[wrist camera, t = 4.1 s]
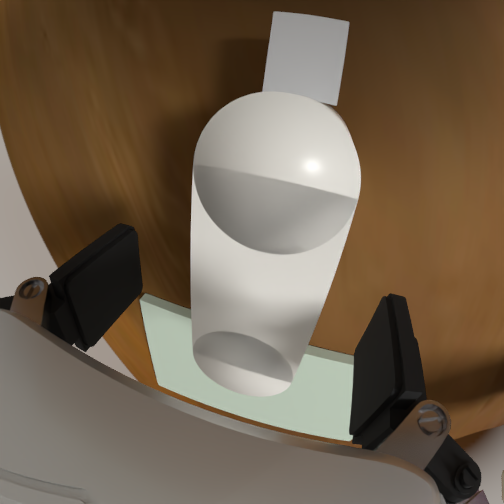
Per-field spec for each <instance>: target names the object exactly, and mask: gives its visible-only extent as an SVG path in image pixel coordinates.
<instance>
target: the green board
mask: <svg viewBox="0 0 504 504" xmlns="http://www.w3.org/2000/svg"><path fill="white" fill-rule="evenodd" d="M140 304H141V310H142V315H143V320H144V325H145V330H146V335H147V340H148V345H149V349H150V353H151V358H152V362H153V366H154V370H155V374H156V378H157V382H158V385H160V386H162V387H165V388H167V389H169V390H172V391H174V392H176V393H179V394H181V395H184V396H186V397H188V398H191V399H194V400H196V401H199V402H201V403H204V404H207V405H209V406H212V407H215V408H218V409H221V410H224V411H227V412H230V413H233V414H236V415H239V416H242V417H245V418H248V419H252V420H255V421H259V422H262V423H266V424H269V425H273V426H277V427H281V428H285V429H289V430H293V431H298V432H302V433H307V434H311V435H316V436H322V437H327V438H333V439H339V440H345V441H350V440H352V439H353V435H350V434H349V426H350V415H351V403H352V388H353V368H354V356H352V355H347V354H343V353H339V352H334V351H330V350H326V349H322V348H318V347H314V346H310V345H308V346H307V348H306V351H305V353H304V355H303V358H302V360H301V363H300V365H299V367H298V369H297V372H296V374H295V376H294V378H293V381H292V383H291V385H290V386H289V387H288V388H287V389H286V390H285V391H283V392H281V393H279V394H276V395H273V396H266V397H256V396H248V395H243V394H240V393H236V392H233V391H231V390H228V389H226V388H224V387H222V386H220V385H219V384H217V383H215V382H214V381H213V380H211V379H210V378H209V377H208V376H206V375H205V374H204V373H203V372H202V370H201V369H200V368H199V367H198V365H197V363H196V361H195V359H194V356H193V347H192V322H191V310H190V309H188V308H185V307H182V306H179V305H176V304H173V303H171V302H168V301H165V300H162V299H160V298H157V297H154V296H152V295H149V294H146V293H145V294H144V295H143V296H142V298H141V299H140Z"/></svg>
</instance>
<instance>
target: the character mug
mask: <svg viewBox="0 0 504 504" xmlns="http://www.w3.org/2000/svg"><path fill="white" fill-rule="evenodd" d="M502 500H503V502H504V470H503V473H502Z"/></svg>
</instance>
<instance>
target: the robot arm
mask: <svg viewBox="0 0 504 504" xmlns="http://www.w3.org/2000/svg"><path fill="white" fill-rule="evenodd" d="M49 277H50V280H51V283H50V284H49V285H48V283H47V282H46V280H45V279H44V278H41V277H33V278H30V279H27V280H25V281H24V282H22V283H21V284H20V285H19V286H18V287H17V289H16V292H15V295H14V296H9V297H4V298H0V504H489V502H488V500H487V498H486V495H485V493H484V491H483V490H482V491H479V486H480V483H481V472H480V469H479V467H478V465H477V464H476V463H475V462H474V461H473V459H472V458H471V457H469V455H468V454H467V453H466V452H465V451H464V450H463V449H462V448H461V447H460V446H459V445H458V444H457V443H456V442H455V441H454V440H453V439H452V437H451V436H450V435H449V434H448V433H449V431H450V429H451V419H450V415H449V413H448V411H447V409H446V408H445V407H444V406H443V405H442V404H440V403H439V402H437V401H434V400H427V399H426V390H425V383H424V376H423V370H422V364H421V358H420V352H419V347H418V342H417V339H416V338H415V337H414V333H413V328H412V324H411V319H410V315H409V310H408V306H407V302H406V298H405V297H403V296H399V295H395V294H389V295H388V296H387V297H386V296H383V298H382V299H381V301H380V303H379V305H378V307H377V309H376V311H375V313H374V315H373V317H372V319H371V321H370V323H369V325H368V327H367V329H366V331H365V332H364V334H363V336H362V338H361V340H360V342H359V343H358V345H357V347H356V349H355V353H354V368H353V388H352V403H351V415H350V426H349V434H350V435H353V440H352V444H360V445H362V449H361V448H355V447H350V446H345V445H338V444H332V443H327V442H322V441H316V440H312V439H307V438H302V437H298V436H294V435H289V434H285V433H281V432H277V431H273V430H269V429H265V428H261V427H258V426H254V425H251V424H247V423H244V422H240V421H237V420H234V419H231V418H228V417H225V416H222V415H219V414H216V413H213V412H210V411H207V410H205V409H202V408H199V407H196V406H194V405H191V404H189V403H186V402H183V401H181V400H178V399H176V398H174V397H171V396H169V395H166V394H164V393H162V392H160V391H157V390H155V389H153V388H151V387H148V386H146V385H144V384H142V383H140V382H138V381H136V380H134V379H131V378H129V377H127V376H125V375H123V374H121V373H120V372H118V371H116V370H114V369H111V368H110V367H108V366H106V365H104V364H102V363H101V362H99V361H97V360H95V359H93V358H92V357H90V356H88V355H86V354H85V353H83V352H81V351H80V350H78V349H76V348H75V347H73V346H72V345H73V344H74V343H75V345H76V347H78V348H79V349H81V350H83V351H84V352H86V351H87V350H88V349H89V347H92V346H94V345H95V344H96V343H97V342H98V341H99V339H100V338H101V337H102V336H103V335H104V334H105V332H106V331H107V330H108V329H109V328H110V327H111V326H112V324H113V323H114V322H115V321H116V320H117V319H118V318H119V317H120V315H121V314H122V313H123V312H124V311H125V310H126V309H127V308H128V306H129V305H130V304H131V303H132V302H133V301H134V300H135V299H136V298H137V297H138V295H139V294H140V293H141V291H142V287H143V284H142V276H141V267H140V257H139V247H138V235H137V232H136V231H135V229H134V227H132V226H129V225H125V224H121V223H120V224H118V225H116V226H115V227H114V228H112V229H111V230H109V231H108V232H106V233H105V234H104V235H102V236H101V237H99V238H98V239H97V240H95V241H94V242H92V243H91V244H90V245H88V246H87V247H86V248H84V249H83V250H81V251H80V252H79V253H77V254H76V255H75V256H74V257H72V258H71V259H70V260H68V261H67V262H66V263H64V264H63V265H62V266H61V267H59V268H58V269H57V270H56V271H54V272H53V273H52V274H51V275H50V276H49Z"/></svg>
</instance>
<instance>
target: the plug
mask: <svg viewBox="0 0 504 504" xmlns="http://www.w3.org/2000/svg"><path fill="white" fill-rule="evenodd" d="M348 30H349V22H347V21H342V20H337V19H332V18H326V17H320V16H313V15H306V14H298V13H288V12H276V11H274V13H273V20H272V27H271V34H270V41H269V48H268V55H267V62H266V69H265V76H264V83H263V90H262V92H258V93H253V94H249V95H246V96H243V97H240V98H238V99H236V100H234V101H232V102H230V103H229V104H227V105H226V106H224V107H223V108H222V109H220V110H219V111H218V112H217V113H216V114H215V115H214V116H213V117H212V118H211V119H210V121H209V122H208V123H207V125H206V126H205V128H204V130H203V131H202V133H201V135H200V137H199V140H198V142H197V146H196V149H195V153H194V161H193V179H192V204H191V322H192V347H193V356H194V359H195V361H196V363H197V365H198V367H199V368H200V369H201V370H202V372H203V373H204V374H205V375H206V376H208V377H209V378H210V379H211V380H213V381H214V382H215V383H217V384H219V385H220V386H222V387H224V388H226V389H228V390H231V391H233V392H236V393H240V394H243V395H248V396H256V397H266V396H273V395H276V394H279V393H281V392H283V391H285V390H286V389H287V388H288V387H289V386H290V385H291V383H292V381H293V378H294V376H295V374H296V372H297V369H298V367H299V365H300V363H301V360H302V358H303V355H304V353H305V351H306V348H307V346H308V343H309V341H310V339H311V336H312V334H313V331H314V329H315V326H316V323H317V321H318V318H319V316H320V313H321V310H322V308H323V305H324V302H325V300H326V297H327V294H328V292H329V289H330V286H331V283H332V280H333V278H334V275H335V272H336V269H337V266H338V263H339V260H340V257H341V254H342V251H343V248H344V245H345V241H346V238H347V235H348V232H349V229H350V225H351V222H352V219H353V215H354V212H355V208H356V205H357V201H358V197H359V192H360V185H361V172H360V164H359V159H358V155H357V152H356V149H355V146H354V144H353V141H352V138H351V135H350V133H349V130H348V128H347V125H346V124H345V122H344V120H343V119H342V117H341V116H340V115H339V114H338V113H337V112H336V111H335V110H334V109H333V108H332V107H331V106H329V105H328V104H331V105H335V106H337V101H338V95H339V90H340V84H341V77H342V71H343V65H344V58H345V52H346V45H347V37H348Z"/></svg>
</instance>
